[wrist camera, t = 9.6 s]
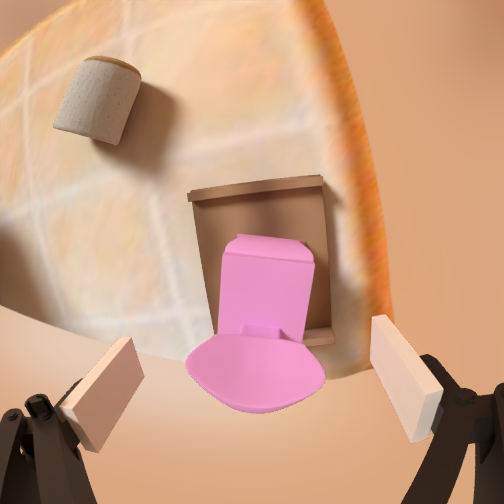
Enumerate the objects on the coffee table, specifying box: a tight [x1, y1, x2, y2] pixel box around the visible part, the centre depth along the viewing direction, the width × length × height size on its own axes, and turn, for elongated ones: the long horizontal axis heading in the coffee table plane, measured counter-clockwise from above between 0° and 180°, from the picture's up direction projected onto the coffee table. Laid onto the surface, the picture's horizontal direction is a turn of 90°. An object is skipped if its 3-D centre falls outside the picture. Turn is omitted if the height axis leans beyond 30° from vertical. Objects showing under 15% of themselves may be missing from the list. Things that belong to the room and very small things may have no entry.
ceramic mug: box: [53, 56, 141, 145], centre depth 24 cm, size 11×8×8 cm
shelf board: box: [187, 175, 335, 347], centre depth 28 cm, size 12×16×4 cm
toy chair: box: [186, 234, 326, 413], centre depth 21 cm, size 8×9×15 cm
